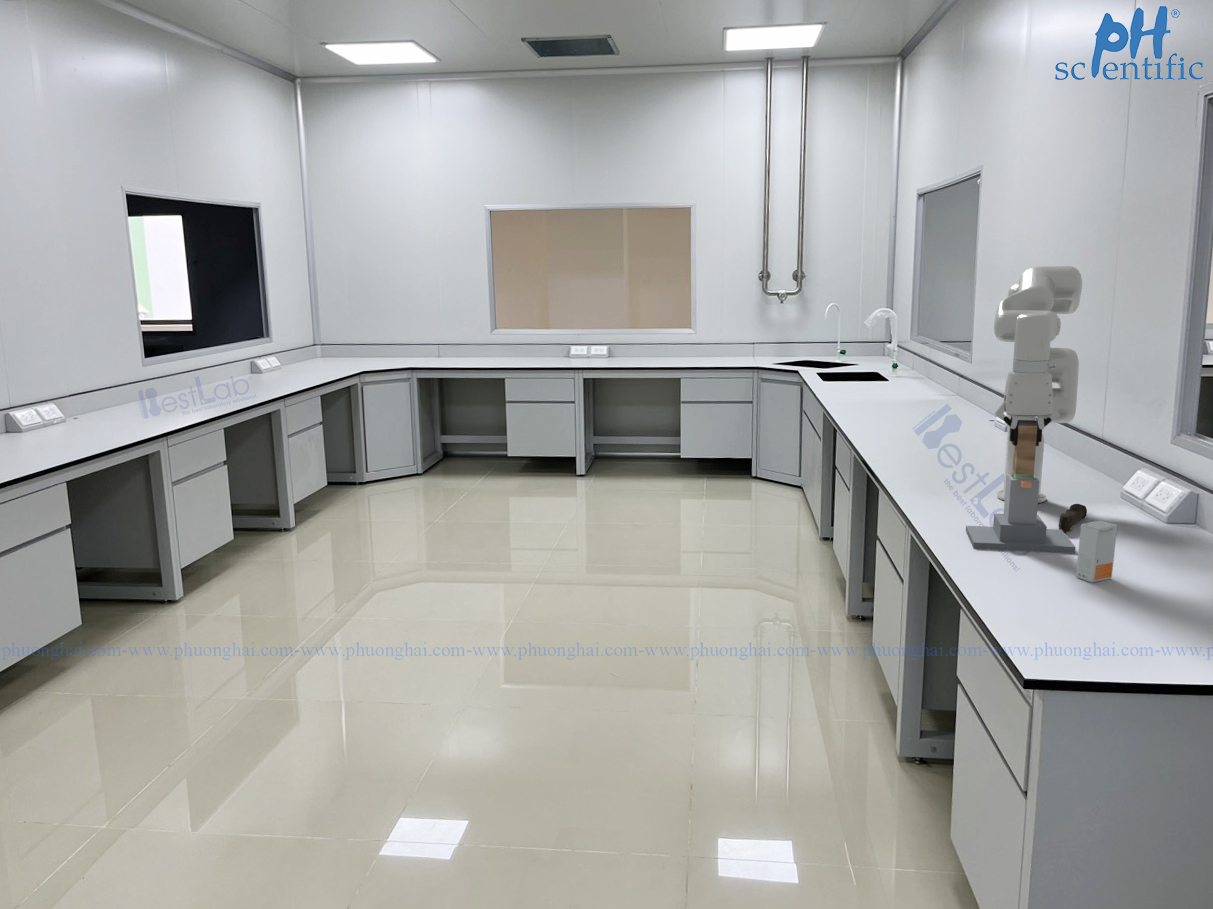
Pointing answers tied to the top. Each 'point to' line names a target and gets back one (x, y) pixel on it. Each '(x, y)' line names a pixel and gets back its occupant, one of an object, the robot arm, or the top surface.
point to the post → (1025, 450)
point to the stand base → (1020, 524)
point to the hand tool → (1072, 517)
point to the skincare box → (1096, 551)
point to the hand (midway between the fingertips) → (1025, 443)
